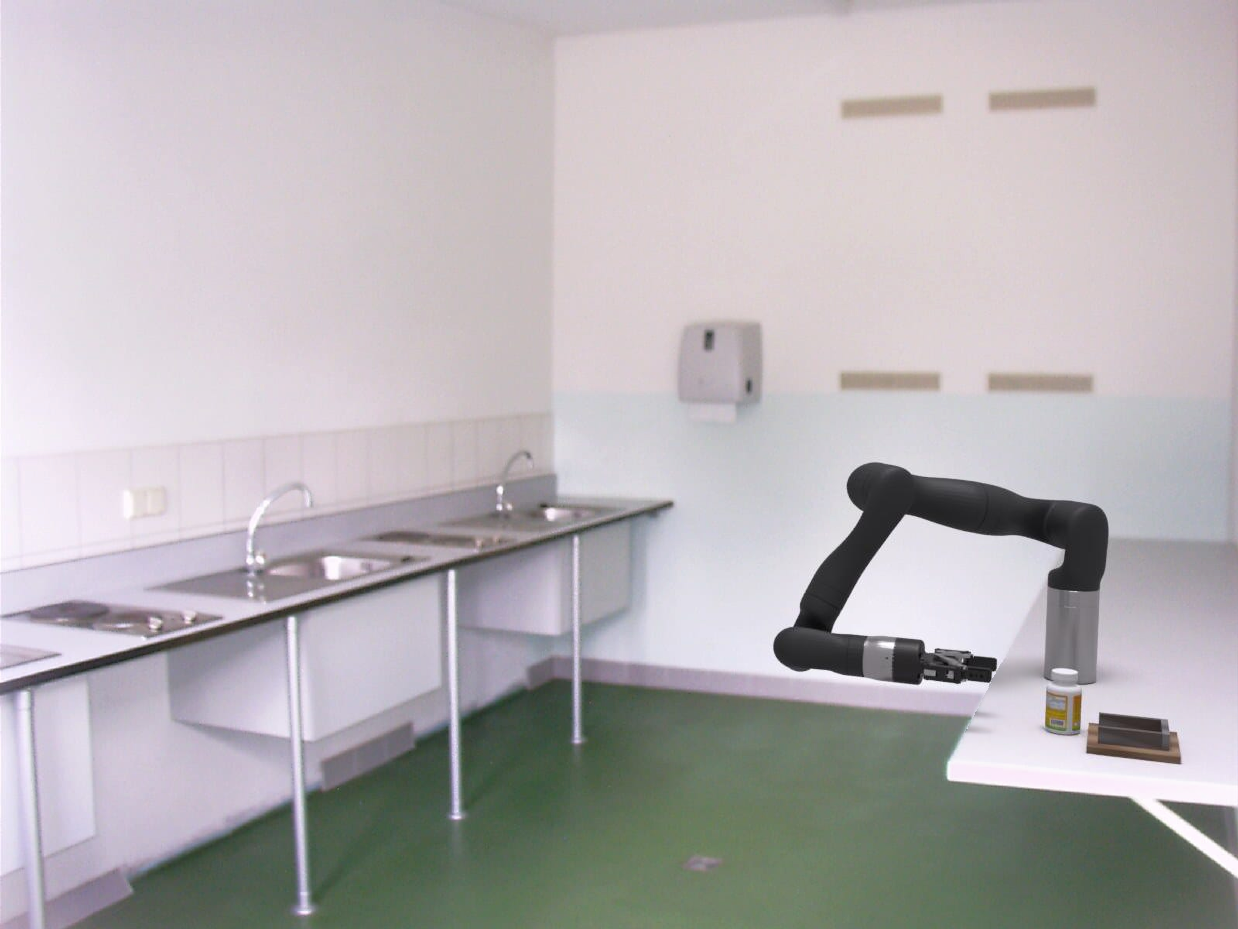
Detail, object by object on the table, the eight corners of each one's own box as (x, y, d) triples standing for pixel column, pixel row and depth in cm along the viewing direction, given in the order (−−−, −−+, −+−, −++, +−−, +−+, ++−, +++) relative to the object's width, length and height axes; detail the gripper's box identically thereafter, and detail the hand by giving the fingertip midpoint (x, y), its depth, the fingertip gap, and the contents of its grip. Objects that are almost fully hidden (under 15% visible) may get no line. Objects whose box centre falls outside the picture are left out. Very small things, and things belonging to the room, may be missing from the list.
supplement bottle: (1072, 726, 205) (1074, 667, 204) (1085, 735, 199) (1088, 675, 199) (1039, 725, 205) (1042, 666, 204) (1052, 735, 199) (1054, 675, 199)
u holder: (1088, 728, 203) (1089, 707, 203) (1176, 738, 198) (1177, 716, 198) (1086, 753, 190) (1087, 730, 190) (1180, 764, 186) (1181, 740, 185)
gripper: (887, 645, 204) (991, 656, 198) (901, 629, 217) (999, 639, 211) (885, 691, 205) (989, 703, 199) (899, 672, 218) (997, 683, 212)
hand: (994, 670), depth 205 cm, fingers open, 8 cm apart
